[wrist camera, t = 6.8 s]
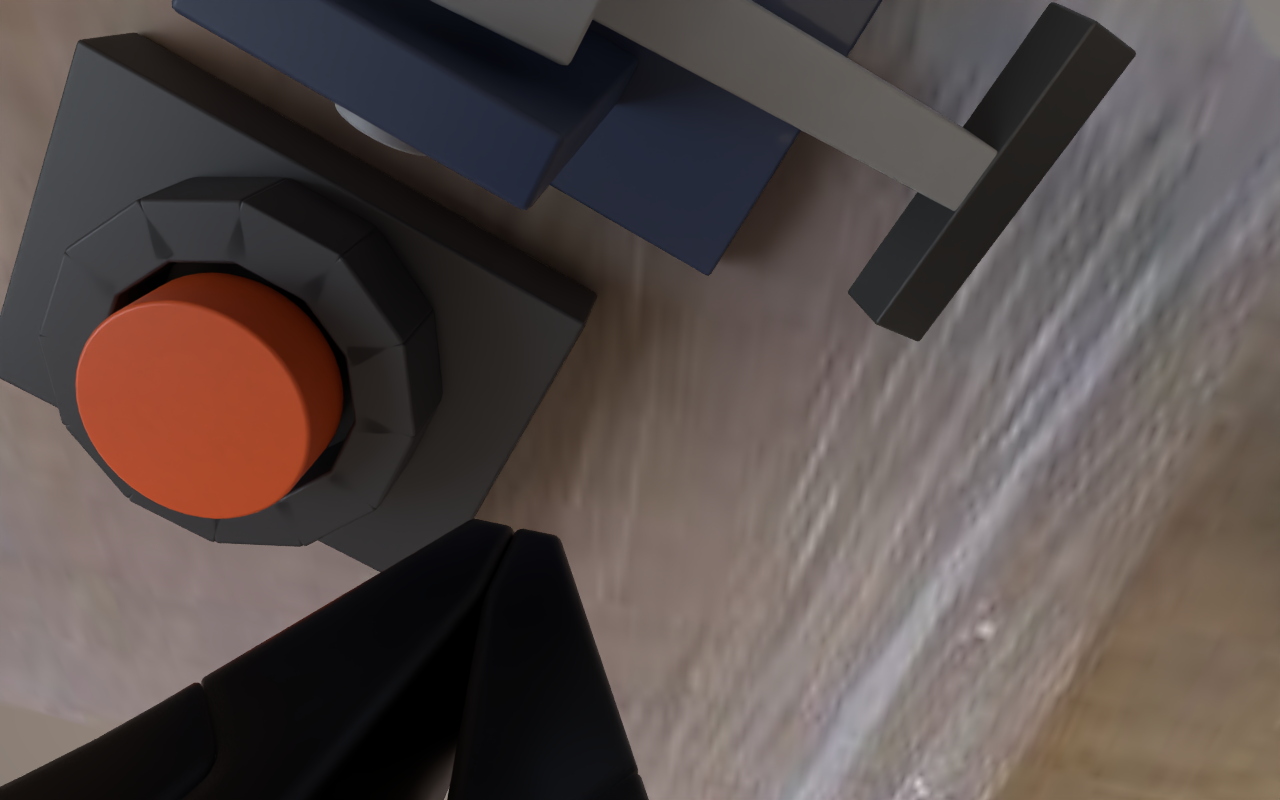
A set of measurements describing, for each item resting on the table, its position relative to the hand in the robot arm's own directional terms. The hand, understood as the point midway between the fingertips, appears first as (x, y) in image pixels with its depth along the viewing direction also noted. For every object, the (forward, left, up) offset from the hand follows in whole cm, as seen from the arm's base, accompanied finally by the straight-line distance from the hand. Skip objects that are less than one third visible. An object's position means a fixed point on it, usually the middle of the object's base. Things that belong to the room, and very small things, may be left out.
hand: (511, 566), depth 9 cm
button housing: (+5, +6, -13) cm, 15 cm away
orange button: (+5, +6, -9) cm, 12 cm away
